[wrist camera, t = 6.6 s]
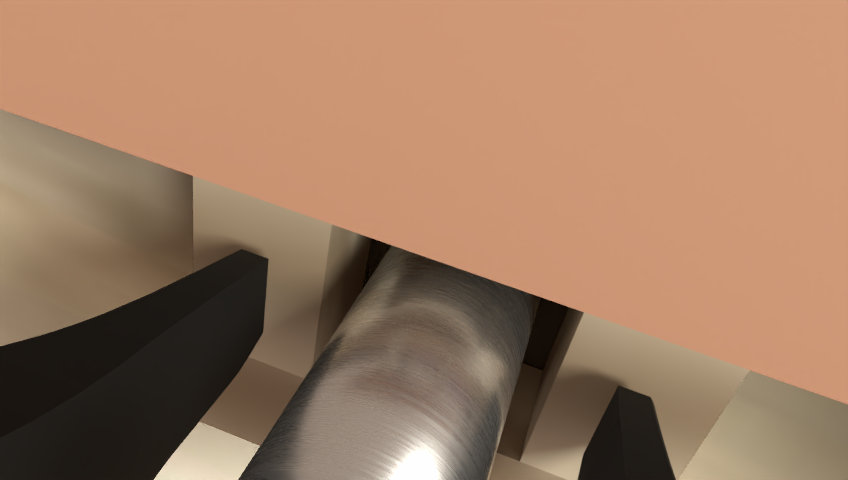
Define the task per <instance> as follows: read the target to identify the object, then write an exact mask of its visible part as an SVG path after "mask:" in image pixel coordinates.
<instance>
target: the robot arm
mask: <svg viewBox="0 0 848 480" xmlns="http://www.w3.org/2000/svg"><path fill="white" fill-rule="evenodd" d="M268 262H269V259H268V258H265V257H262V256H260V255H257V254H254V253H251V252H248V251H246V250H243V249H241V250H239V251H237V252H234V253H232V254H230V255H228V256H226V257H224V258H222V259H220V260H218V261H216V262H214V263H212V264H210V265H208V266H206V267H204V268H202V269H200V270H198V271H196V272H194V273H192V274H190V275H188V276H186V277H184V278H182V279H180V280H178V281H176V282H174V283H172V284H170V285H168V286H166V287H163V288H161V289H159V290H157V291H155V292H153V293H151V294H149V295H147V296H144V297H142V298H140V299H137V300H135V301H133V302H130V303H128V304H126V305H123V306H121V307H119V308H116V309H114V310H111V311H109V312H107V313H104V314H102V315H99V316H97V317H94V318H91V319H89V320H86V321H83V322H80V323H78V324H75V325H72V326H69V327H66V328H63V329H60V330H57V331H54V332H51V333H47V334H44V335H41V336H37V337H34V338H30V339H26V340H23V341H19V342H15V343H11V344H8V345H4V346H0V480H154V478H155V477H156V475H157V474H158V473H159V471H160V470H161V469H162V467H163V466H164V465H165V463H166V462H167V461H168V459H169V458H170V457H171V455H172V454H173V453H174V452H175V450H176V449H177V448H178V447H179V445H180V444H181V443H182V442H183V441H184V439H185V438H186V437H187V436H188V434H189V433H190V432H191V431H192V430H193V428H194V427H195V426H196V425H197V423H198V422H199V421H200V420H201V419H202V417H203V416H204V415H205V414H206V413H207V411H208V410H209V409H210V408H211V406H212V405H213V404H214V403H215V402H216V400H217V399H218V398H219V397H220V395H221V394H222V393H223V392H224V390H225V389H226V388H227V387H228V385H229V384H230V383H231V382H232V380H233V379H234V378H235V377H236V375H237V374H238V373H239V371H240V370H241V368H242V366H243V365H244V363H245V362H246V360H247V359H248V357H249V355H250V354H251V352H252V350H253V349H254V347H255V345H256V344H257V342H258V340H259V339H260V337H261V335H262V334H263V329H264V315H265V302H266V288H267V275H268ZM578 480H676V478H675V475H674V472H673V469H672V466H671V463H670V460H669V456H668V453H667V450H666V447H665V443H664V440H663V436H662V433H661V429H660V425H659V422H658V418H657V414H656V410H655V406H654V403H653V401H652V399H651V397H649V396H647V395H644V394H641V393H638V392H636V391H633V390H630V389H627V388H624V387H622V386H619V385H618V387H617V389H616V391H615V393H614V395H613V397H612V399H611V401H610V403H609V405H608V407H607V409H606V411H605V413H604V414H603V416H602V418H601V420H600V422H599V424H598V426H597V428H596V430H595V432H594V434H593V436H592V438H591V440H590V442H589V444H588V446H587V448H586V450H585V452H584V454H583V458H582V462H581V467H580V471H579V475H578Z"/></svg>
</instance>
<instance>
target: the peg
mask: <svg viewBox="0 0 848 480" xmlns="http://www.w3.org/2000/svg"><path fill="white" fill-rule="evenodd" d="M540 299H541V297H539V296H536V295H533V294H530V293H527V292H524V291H521V290H519V289H516V288H513V287H510V286H507V285H504V284H501V283H498V282H496V281H493V280H490V279H487V278H484V277H481V276H478V275H476V274H473V273H470V272H467V271H464V270H461V269H458V268H455V267H453V266H450V265H447V264H444V263H441V262H438V261H435V260H433V259H430V258H427V257H424V256H421V255H418V254H415V253H412V252H410V251H407V250H404V249H401V248H398V247H395V246H392V245H391V247H390V248H389V250H388V251H387V253H386V254H385V256H384V257H383V259H382V260H381V262H380V263H379V265H378V267H377V268H376V270H375V271H374V273H373V274H372V276H371V277H370V279H369V280H368V282H367V283H366V285H365V286H364V288H363V290H362V291H361V293H360V294H359V296H358V297H357V299H356V300H355V302H354V303H353V305H352V306H351V308H350V309H349V311H348V313H347V314H346V316H345V317H344V319H343V320H342V322H341V323H340V325H339V326H338V328H337V329H336V331H335V332H334V334H333V335H332V337H331V339H330V340H329V342H328V343H327V345H326V346H325V348H324V349H323V351H322V352H321V354H320V355H319V357H318V358H317V360H316V362H315V363H314V365H313V366H312V368H311V369H310V371H309V372H308V374H307V375H306V377H305V378H304V380H303V381H302V383H301V385H300V386H299V388H298V389H297V391H296V392H295V394H294V395H293V397H292V398H291V400H290V401H289V403H288V404H287V406H286V408H285V409H284V411H283V412H282V414H281V415H280V417H279V418H278V420H277V421H276V423H275V424H274V426H273V427H272V429H271V430H270V432H269V434H268V435H267V437H266V438H265V440H264V441H263V443H262V444H261V446H260V447H259V449H258V450H257V452H256V453H255V455H254V457H253V458H252V460H251V461H250V463H249V464H248V466H247V467H246V469H245V470H244V472H243V473H242V475H241V476H240V478H239V480H489V476H490V473H491V469H492V466H493V462H494V459H495V456H496V452H497V449H498V445H499V442H500V438H501V435H502V431H503V428H504V424H505V421H506V417H507V414H508V410H509V407H510V403H511V400H512V396H513V393H514V389H515V386H516V382H517V379H518V376H519V372H520V369H521V365H522V362H523V358H524V355H525V351H526V348H527V344H528V341H529V337H530V334H531V330H532V327H533V323H534V320H535V316H536V313H537V309H538V306H539V302H540Z"/></svg>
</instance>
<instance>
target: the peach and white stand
mask: <svg viewBox="0 0 848 480" xmlns="http://www.w3.org/2000/svg"><path fill="white" fill-rule="evenodd" d="M0 109H2V110H5V111H8V112H11V113H14V114H17V115H20V116H23V117H25V118H28V119H31V120H34V121H37V122H40V123H43V124H45V125H48V126H51V127H54V128H57V129H60V130H63V131H66V132H68V133H71V134H74V135H77V136H80V137H83V138H86V139H88V140H91V141H94V142H97V143H100V144H103V145H106V146H109V147H111V148H114V149H117V150H120V151H123V152H126V153H129V154H131V155H134V156H137V157H140V158H143V159H146V160H149V161H152V162H154V163H157V164H160V165H163V166H166V167H169V168H172V169H174V170H177V171H180V172H183V173H186V174H189V175H192V176H195V177H197V178H200V179H203V180H206V181H209V182H212V183H215V184H218V185H220V186H223V187H226V188H229V189H232V190H235V191H238V192H240V193H243V194H246V195H249V196H252V197H255V198H258V199H261V200H263V201H266V202H269V203H272V204H275V205H278V206H281V207H283V208H286V209H289V210H292V211H295V212H298V213H301V214H304V215H306V216H309V217H312V218H315V219H318V220H321V221H324V222H326V223H329V224H332V225H335V226H338V227H341V228H344V229H347V230H349V231H352V232H355V233H358V234H361V235H364V236H367V237H369V238H372V239H375V240H378V241H381V242H384V243H387V244H390V245H392V246H395V247H398V248H401V249H404V250H407V251H410V252H412V253H415V254H418V255H421V256H424V257H427V258H430V259H433V260H435V261H438V262H441V263H444V264H447V265H450V266H453V267H455V268H458V269H461V270H464V271H467V272H470V273H473V274H476V275H478V276H481V277H484V278H487V279H490V280H493V281H496V282H498V283H501V284H504V285H507V286H510V287H513V288H516V289H519V290H521V291H524V292H527V293H530V294H533V295H536V296H539V297H542V298H544V299H547V300H550V301H553V302H556V303H559V304H562V305H564V306H567V307H570V308H573V309H576V310H579V311H582V312H585V313H587V314H590V315H593V316H596V317H599V318H602V319H605V320H607V321H610V322H613V323H616V324H619V325H622V326H625V327H628V328H630V329H633V330H636V331H639V332H642V333H645V334H648V335H650V336H653V337H656V338H659V339H662V340H665V341H668V342H671V343H673V344H676V345H679V346H682V347H685V348H688V349H691V350H693V351H696V352H699V353H702V354H705V355H708V356H711V357H714V358H716V359H719V360H722V361H725V362H728V363H731V364H734V365H736V366H739V367H742V368H745V369H748V370H751V371H754V372H757V373H759V374H762V375H765V376H768V377H771V378H774V379H777V380H779V381H782V382H785V383H788V384H791V385H794V386H797V387H800V388H802V389H805V390H808V391H811V392H814V393H817V394H820V395H822V396H825V397H828V398H831V399H834V400H837V401H840V402H843V403H845V404H848V0H0Z"/></svg>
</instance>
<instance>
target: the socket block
mask: <svg viewBox="0 0 848 480" xmlns="http://www.w3.org/2000/svg"><path fill="white" fill-rule="evenodd" d="M370 244H371V238H369V237H367V236H364V235H361V234H358V233H355V232H352V231H349V230H347V229H344V228H341V227H338V226H335V225H332V224H329V223H326V222H324V221H321V220H318V219H315V218H312V217H309V216H306V215H304V214H301V213H298V212H295V211H292V210H289V209H286V208H283V207H281V206H278V205H275V204H272V203H269V202H266V201H263V200H261V199H258V198H255V197H252V196H249V195H246V194H243V193H240V192H238V191H235V190H232V189H229V188H226V187H223V186H220V185H218V184H215V183H212V182H209V181H206V180H203V179H200V178H197V177H195V176H193V273H194V272H196V271H198V270H200V269H202V268H204V267H206V266H208V265H210V264H212V263H214V262H216V261H218V260H220V259H222V258H224V257H226V256H228V255H230V254H232V253H234V252H237V251H239V250H241V249H243V250H246V251H248V252H251V253H254V254H257V255H260V256H262V257H265V258H268V259H269V262H268V275H267V288H266V302H265V315H264V329H263V334H262V335H261V337H260V339H259V340H258V342H257V344H256V345H255V347H254V349H253V350H252V352H251V354H250V355H249V357H248V359H247V360H246V362H245V363H244V365H243V366H242V368H241V370H240V371H239V373H238V374H237V375H236V377H235V378H234V379H233V380H232V382H231V383H230V384H229V385H228V387H227V388H226V389H225V390H224V392H223V393H222V394H221V395H220V397H219V398H218V399H217V400H216V402H215V403H214V404H213V405H212V406H211V408H210V409H209V410H208V411H207V413H206V414H205V415H204V416H203V417H202V419H201V420H200V422H203V423H205V424H208V425H210V426H213V427H215V428H218V429H220V430H223V431H225V432H228V433H230V434H232V435H235V436H237V437H240V438H242V439H245V440H247V441H250V442H252V443H255V444H257V445H260V446H261V444H262V443H263V441H264V440H265V438H266V437H267V435H268V434H269V432H270V430H271V429H272V427H273V426H274V424H275V423H276V421H277V420H278V418H279V417H280V415H281V414H282V412H283V411H284V409H285V408H286V406H287V404H288V403H289V401H290V400H291V398H292V397H293V395H294V394H295V392H296V391H297V389H298V388H299V386H300V385H301V383H302V381H303V380H304V378H305V377H306V375H307V374H308V372H309V371H310V369H311V368H312V366H313V365H314V363H315V362H316V360H317V358H318V357H319V355H320V354H321V352H322V351H323V349H324V348H325V346H326V345H327V343H328V342H329V340H330V339H331V337H332V335H333V334H334V332H335V331H336V329H337V328H338V326H339V325H340V323H341V322H342V320H343V319H344V317H345V316H346V314H347V313H348V311H349V309H350V308H351V306H352V305H353V303H354V302H355V300H356V299H357V297H358V296H359V294H360V293H361V291H362V289H363V283H364V277H365V272H366V266H367V261H368V255H369V249H370ZM749 371H750V370H748V369H745V368H742V367H739V366H736V365H734V364H731V363H728V362H725V361H722V360H719V359H716V358H714V357H711V356H708V355H705V354H702V353H699V352H696V351H693V350H691V349H688V348H685V347H682V346H679V345H676V344H673V343H671V342H668V341H665V340H662V339H659V338H656V337H653V336H650V335H648V334H645V333H642V332H639V331H636V330H633V329H630V328H628V327H625V326H622V325H619V324H616V323H613V322H610V321H607V320H605V319H602V318H599V317H596V316H593V315H590V314H587V313H585V312H582V311H579V310H576V309H573V308H570V307H568V310H567V312H566V315H565V317H564V320H563V322H562V324H561V327H560V329H559V332H558V334H557V337H556V339H555V342H554V344H553V346H552V349H551V351H550V354H549V356H548V359H547V361H546V363H545V366H544V368H543V370H540V369H537V368H534V367H532V366H529V365H526V364H523V363H522V365H521V369H520V372H519V376H518V379H517V382H516V386H515V389H514V393H513V396H512V400H511V403H510V407H509V410H508V414H507V417H506V421H505V424H504V428H503V431H502V435H501V438H500V442H499V445H498V449H497V452H496V456H495V459H494V462H493V466H492V469H491V473H490V476H489V480H578V475H579V471H580V467H581V462H582V458H583V454H584V452H585V450H586V448H587V446H588V444H589V442H590V440H591V438H592V436H593V434H594V432H595V430H596V428H597V426H598V424H599V422H600V420H601V418H602V416H603V414H604V413H605V411H606V409H607V407H608V405H609V403H610V401H611V399H612V397H613V395H614V393H615V391H616V389H617V387H618V385H619V386H622V387H624V388H627V389H630V390H633V391H636V392H638V393H641V394H644V395H647V396H649V397H651V399H652V401H653V403H654V406H655V410H656V414H657V418H658V422H659V425H660V429H661V433H662V436H663V440H664V443H665V447H666V450H667V453H668V456H669V460H670V463H671V466H672V469H673V472H674V475H675V478H676V480H678V479H679V477H680V476H681V474H682V473H683V471H684V470H685V468H686V467H687V465H688V464H689V462H690V461H691V459H692V457H693V456H694V454H695V453H696V451H697V450H698V448H699V447H700V445H701V444H702V442H703V441H704V439H705V438H706V436H707V435H708V433H709V432H710V430H711V429H712V427H713V426H714V424H715V422H716V421H717V419H718V418H719V416H720V415H721V413H722V412H723V410H724V409H725V407H726V406H727V404H728V403H729V401H730V400H731V398H732V397H733V395H734V394H735V392H736V391H737V389H738V388H739V386H740V384H741V383H742V381H743V380H744V378H745V377H746V375H747V374H748V372H749Z"/></svg>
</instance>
